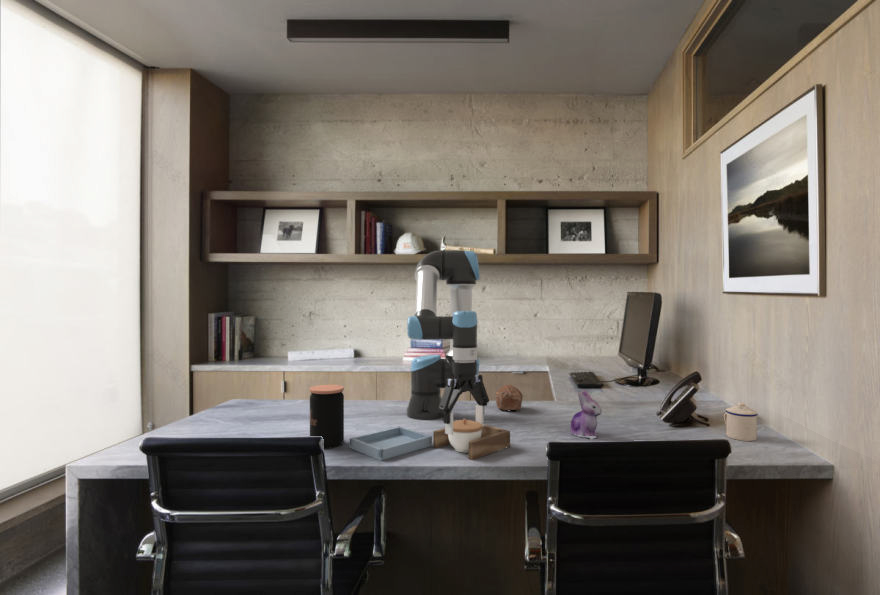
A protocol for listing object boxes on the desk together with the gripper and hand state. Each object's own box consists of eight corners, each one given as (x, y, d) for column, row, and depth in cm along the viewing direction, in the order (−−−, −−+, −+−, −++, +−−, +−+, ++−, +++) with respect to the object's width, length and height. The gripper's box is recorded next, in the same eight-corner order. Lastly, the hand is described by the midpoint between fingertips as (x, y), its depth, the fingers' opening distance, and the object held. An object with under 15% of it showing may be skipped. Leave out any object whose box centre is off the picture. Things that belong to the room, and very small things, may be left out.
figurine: (601, 440, 163) (601, 395, 163) (569, 437, 167) (569, 392, 166) (602, 433, 172) (602, 389, 172) (572, 430, 175) (572, 387, 175)
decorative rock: (495, 405, 213) (495, 382, 213) (522, 406, 212) (522, 382, 211) (494, 412, 200) (495, 388, 200) (523, 413, 199) (523, 388, 198)
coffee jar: (312, 439, 164) (312, 384, 164) (345, 438, 165) (345, 384, 165) (306, 449, 153) (306, 391, 153) (341, 448, 154) (341, 390, 154)
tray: (349, 447, 155) (349, 438, 155) (399, 435, 169) (399, 426, 169) (380, 460, 143) (380, 450, 143) (431, 445, 157) (431, 436, 157)
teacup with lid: (764, 440, 163) (764, 405, 163) (739, 442, 161) (740, 406, 161) (735, 430, 175) (736, 397, 175) (713, 432, 173) (713, 398, 173)
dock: (433, 447, 156) (433, 431, 156) (471, 435, 168) (471, 421, 168) (472, 459, 144) (472, 442, 144) (510, 446, 156) (510, 431, 156)
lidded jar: (456, 457, 147) (456, 425, 147) (441, 446, 157) (441, 416, 157) (488, 452, 151) (488, 421, 151) (472, 442, 161) (472, 413, 161)
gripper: (444, 365, 142) (444, 440, 142) (500, 358, 159) (500, 425, 159) (426, 363, 148) (426, 435, 148) (482, 356, 165) (482, 421, 165)
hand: (464, 430), depth 153 cm, fingers open, 13 cm apart
